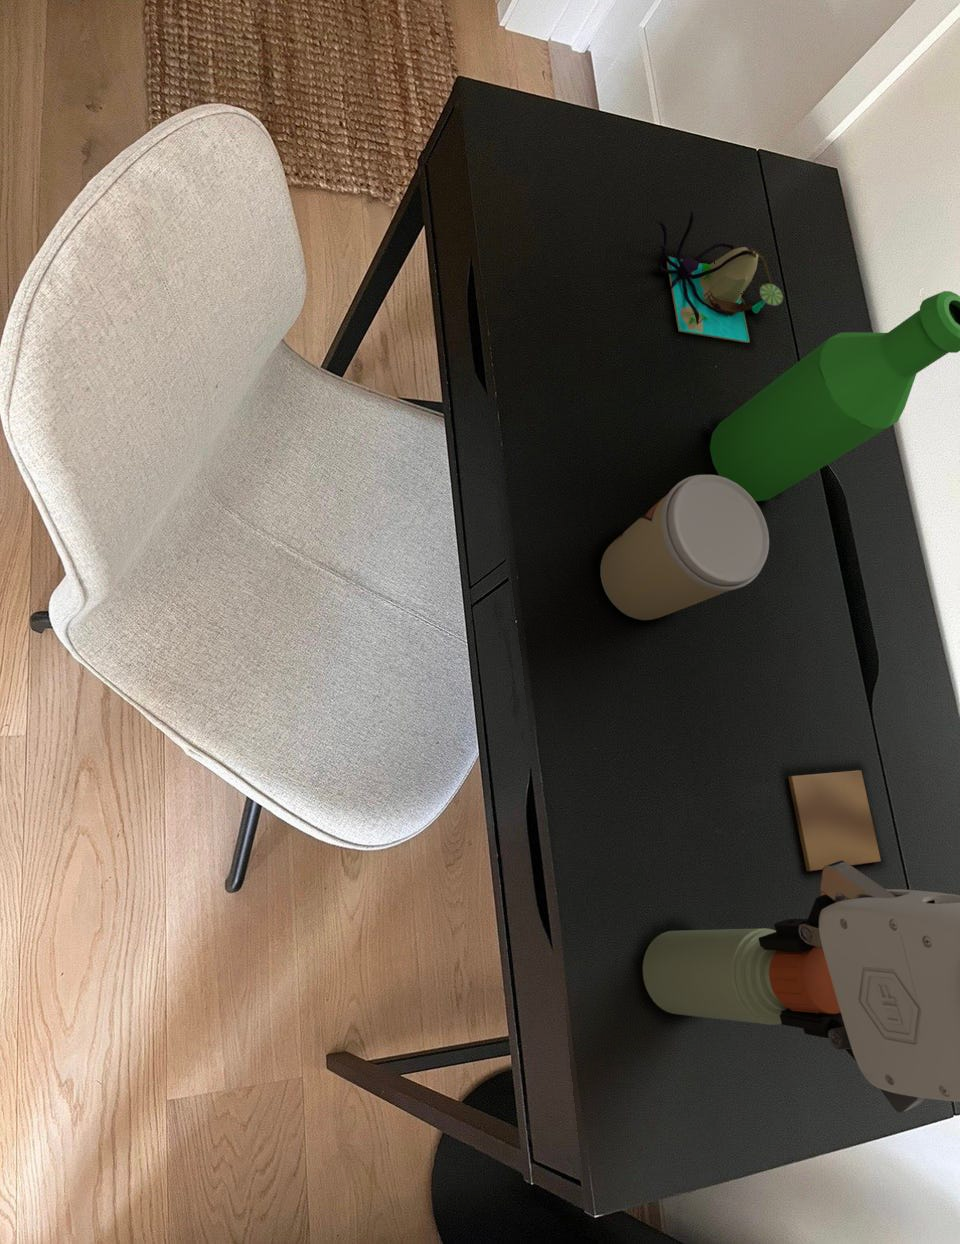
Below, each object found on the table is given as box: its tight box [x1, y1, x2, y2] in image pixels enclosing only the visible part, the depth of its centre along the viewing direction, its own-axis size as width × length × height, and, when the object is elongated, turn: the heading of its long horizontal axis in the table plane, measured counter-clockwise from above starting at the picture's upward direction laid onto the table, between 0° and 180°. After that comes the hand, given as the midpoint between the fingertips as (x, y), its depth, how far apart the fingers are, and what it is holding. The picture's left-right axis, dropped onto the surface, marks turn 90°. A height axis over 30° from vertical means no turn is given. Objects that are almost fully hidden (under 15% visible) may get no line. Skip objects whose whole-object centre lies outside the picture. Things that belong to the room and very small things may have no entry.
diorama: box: [657, 209, 784, 344], centre depth 91 cm, size 11×15×6 cm
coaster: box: [787, 769, 882, 872], centre depth 81 cm, size 8×8×1 cm
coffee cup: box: [599, 474, 770, 621], centre depth 75 cm, size 9×9×12 cm
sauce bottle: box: [642, 927, 788, 1026], centre depth 64 cm, size 6×6×16 cm
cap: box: [769, 947, 841, 1014], centre depth 58 cm, size 4×4×3 cm
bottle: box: [709, 290, 960, 502], centre depth 78 cm, size 9×9×25 cm
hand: (788, 974), depth 60 cm, fingers closed on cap, 4 cm apart
